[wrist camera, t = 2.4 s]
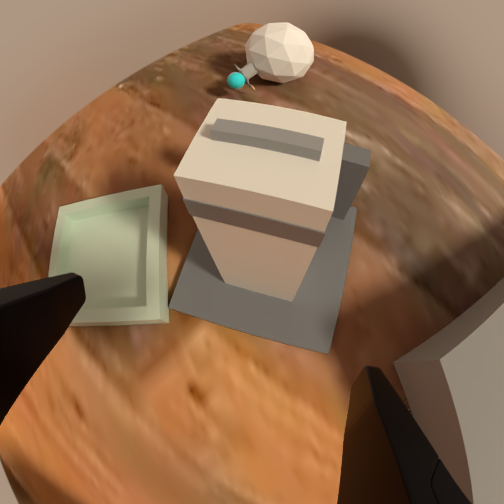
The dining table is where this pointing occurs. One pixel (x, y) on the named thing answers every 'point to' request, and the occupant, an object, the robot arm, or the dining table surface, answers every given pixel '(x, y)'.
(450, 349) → the box
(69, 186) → the dining table surface
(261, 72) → the perfume bottle
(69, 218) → the tray
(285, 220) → the banded cream pillar
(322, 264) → the dock
